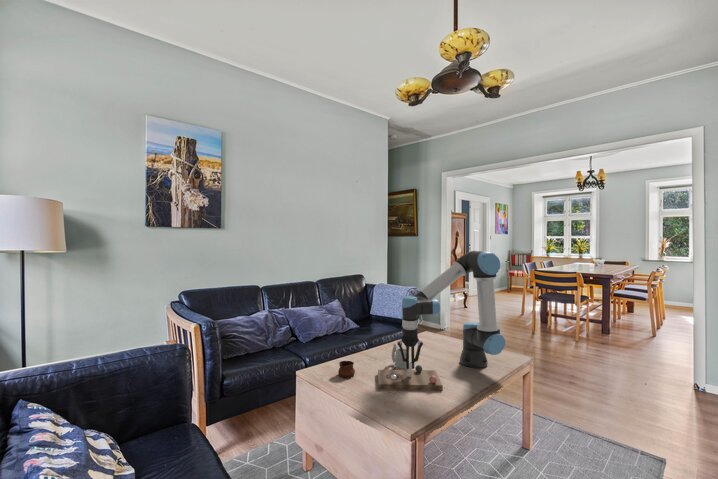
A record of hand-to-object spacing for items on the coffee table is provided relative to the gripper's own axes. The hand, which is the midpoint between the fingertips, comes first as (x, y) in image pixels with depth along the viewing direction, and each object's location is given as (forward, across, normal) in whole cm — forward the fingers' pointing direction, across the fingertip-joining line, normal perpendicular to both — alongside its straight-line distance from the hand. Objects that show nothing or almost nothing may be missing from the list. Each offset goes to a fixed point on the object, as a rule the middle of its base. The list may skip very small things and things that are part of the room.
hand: (410, 375), depth 171 cm
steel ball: (+2, +8, 0) cm, 8 cm away
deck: (+3, +1, 0) cm, 4 cm away
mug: (+4, +4, -20) cm, 21 cm away
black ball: (-1, -5, -6) cm, 8 cm away
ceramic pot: (+4, +32, -7) cm, 33 cm away
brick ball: (-1, -10, +7) cm, 12 cm away
